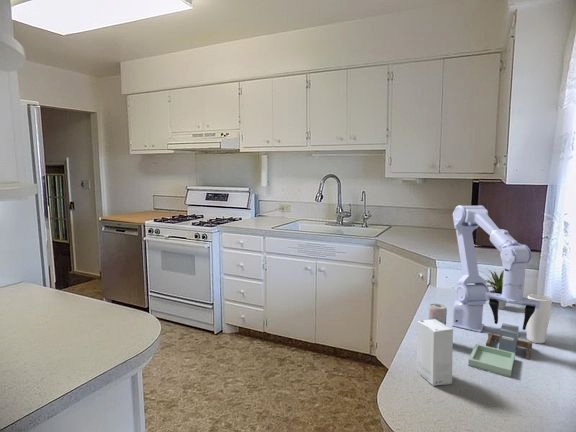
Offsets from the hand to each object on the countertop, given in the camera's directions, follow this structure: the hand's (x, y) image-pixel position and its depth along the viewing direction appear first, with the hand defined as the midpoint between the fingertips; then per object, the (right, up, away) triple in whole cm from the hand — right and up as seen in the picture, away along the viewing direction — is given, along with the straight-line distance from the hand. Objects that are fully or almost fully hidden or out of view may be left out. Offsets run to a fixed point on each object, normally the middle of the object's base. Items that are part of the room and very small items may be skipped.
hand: (510, 325), depth 121 cm
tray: (-10, -9, -8) cm, 15 cm away
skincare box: (-31, -9, -17) cm, 36 cm away
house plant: (+18, -4, +41) cm, 46 cm away
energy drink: (-21, -7, +6) cm, 23 cm away
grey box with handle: (0, -8, +1) cm, 8 cm away
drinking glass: (+13, -7, +8) cm, 17 cm away
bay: (0, -8, +1) cm, 8 cm away
